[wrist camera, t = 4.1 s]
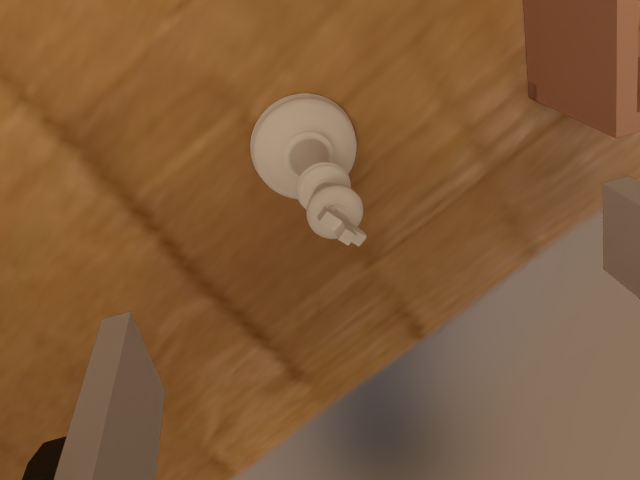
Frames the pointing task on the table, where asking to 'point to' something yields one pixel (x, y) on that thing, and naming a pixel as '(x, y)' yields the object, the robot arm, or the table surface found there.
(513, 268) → the table surface
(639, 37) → the square terracotta box
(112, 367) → the robot arm
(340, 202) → the chess piece
